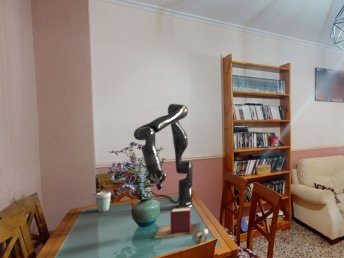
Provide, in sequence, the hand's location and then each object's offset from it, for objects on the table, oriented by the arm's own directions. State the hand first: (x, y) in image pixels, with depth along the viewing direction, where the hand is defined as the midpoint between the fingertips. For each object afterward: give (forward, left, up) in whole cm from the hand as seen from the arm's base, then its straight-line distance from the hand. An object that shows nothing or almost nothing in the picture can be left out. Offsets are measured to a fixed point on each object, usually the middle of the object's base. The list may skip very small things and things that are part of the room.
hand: (160, 189), depth 146 cm
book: (+11, +9, -22) cm, 26 cm away
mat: (+9, +7, -23) cm, 26 cm away
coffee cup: (-51, -28, -23) cm, 62 cm away
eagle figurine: (+28, +14, -23) cm, 39 cm away
